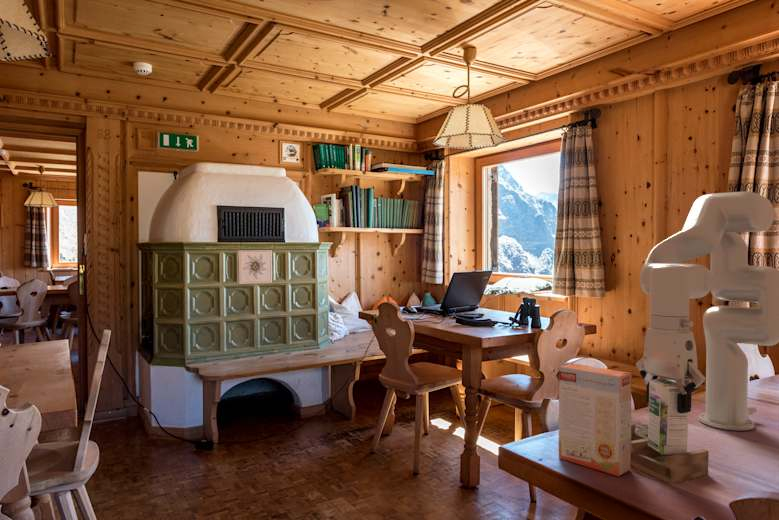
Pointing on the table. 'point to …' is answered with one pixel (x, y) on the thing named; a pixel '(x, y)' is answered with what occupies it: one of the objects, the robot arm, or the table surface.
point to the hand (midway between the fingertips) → (667, 406)
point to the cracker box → (595, 417)
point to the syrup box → (666, 418)
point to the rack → (667, 461)
